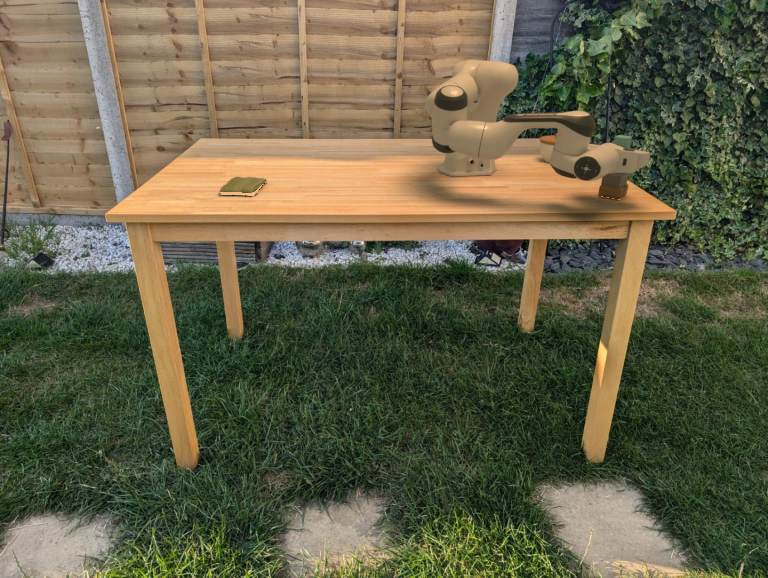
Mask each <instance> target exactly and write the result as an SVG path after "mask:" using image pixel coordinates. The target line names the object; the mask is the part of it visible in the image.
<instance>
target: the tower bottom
mask: <svg viewBox="0 0 768 578" xmlns="http://www.w3.org/2000/svg"><path fill="white" fill-rule="evenodd" d="M628 189H629V184H628V183H627V185H625V186H623V187H621V188H619V189H618V188H613V187H608V186H603V185H601V184H600V185H599V188H598V193H597V197H598V196H603V197H609V198H614V199H621V198H622V197H624V196H625V195H626V194H627V195H628ZM627 195H626V196H627ZM626 196H625V197H626ZM625 197H624V198H625ZM622 199H623V198H622ZM622 199H621V200H622Z"/></svg>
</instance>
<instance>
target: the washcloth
mask: <svg viewBox="0 0 768 578" xmlns="http://www.w3.org/2000/svg"><path fill="white" fill-rule="evenodd" d="M267 180H268V179H266V178H264V177H263V178H260V177H255V176H254V177H253V176H246V177H241V176H234V177H232V178H230V179H229V181H227V183H225V184H223V186H222V187H220V190H219V193H220V192H242V193H252V192H255V191H256V190H257V189H258V188H259V187H260V186H261V185H262V184H264V183H265V182H266V181H267ZM266 183H267V182H266Z"/></svg>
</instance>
